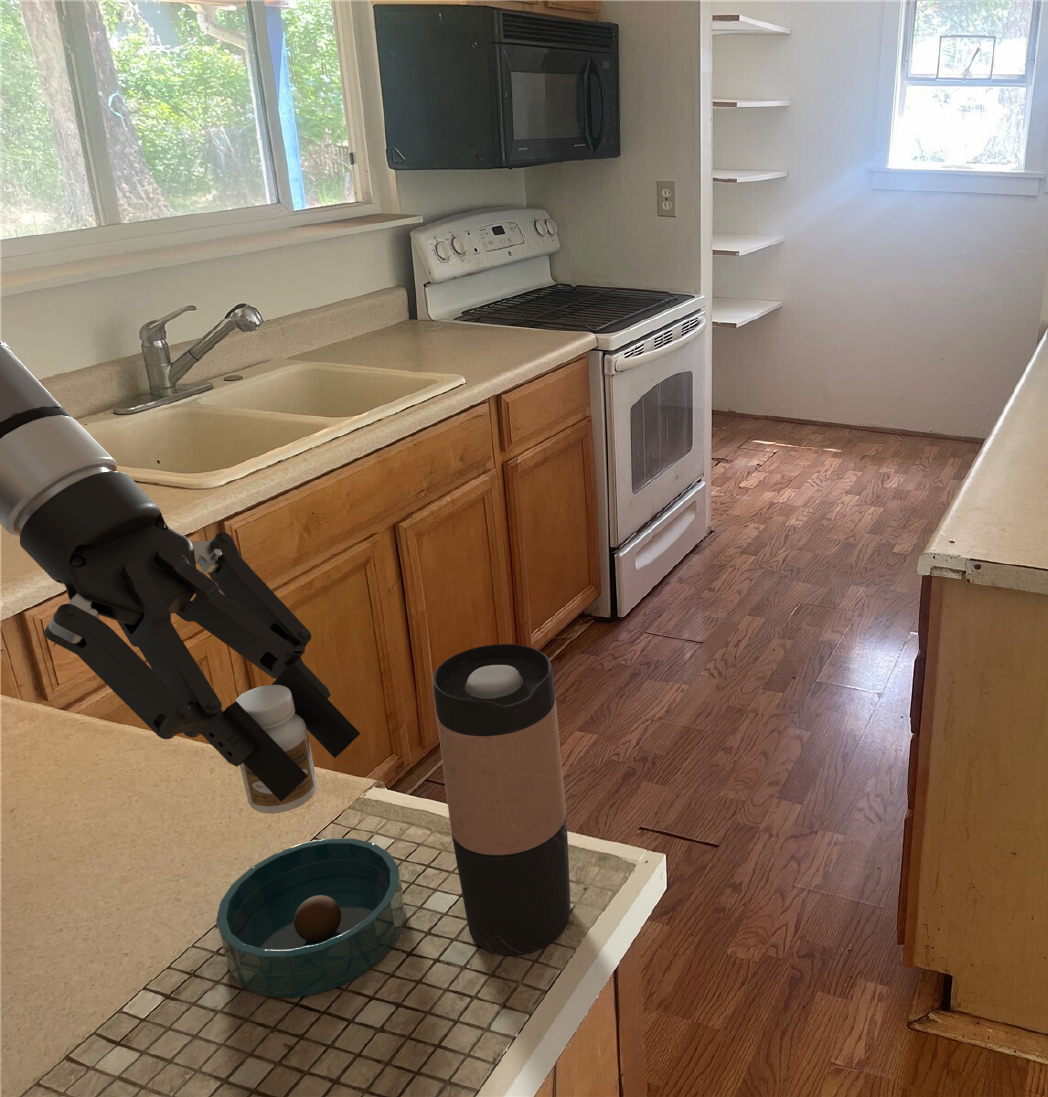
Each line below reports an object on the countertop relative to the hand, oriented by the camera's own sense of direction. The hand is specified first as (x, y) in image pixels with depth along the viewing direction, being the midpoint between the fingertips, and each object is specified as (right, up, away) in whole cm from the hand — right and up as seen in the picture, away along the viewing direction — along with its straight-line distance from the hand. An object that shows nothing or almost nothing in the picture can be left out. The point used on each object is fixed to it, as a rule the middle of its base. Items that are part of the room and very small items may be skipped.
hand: (321, 766), depth 67 cm
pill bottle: (-3, -3, +3) cm, 5 cm away
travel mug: (+12, -12, +5) cm, 18 cm away
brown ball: (-1, -11, +3) cm, 11 cm away
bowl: (-2, -12, +4) cm, 13 cm away
